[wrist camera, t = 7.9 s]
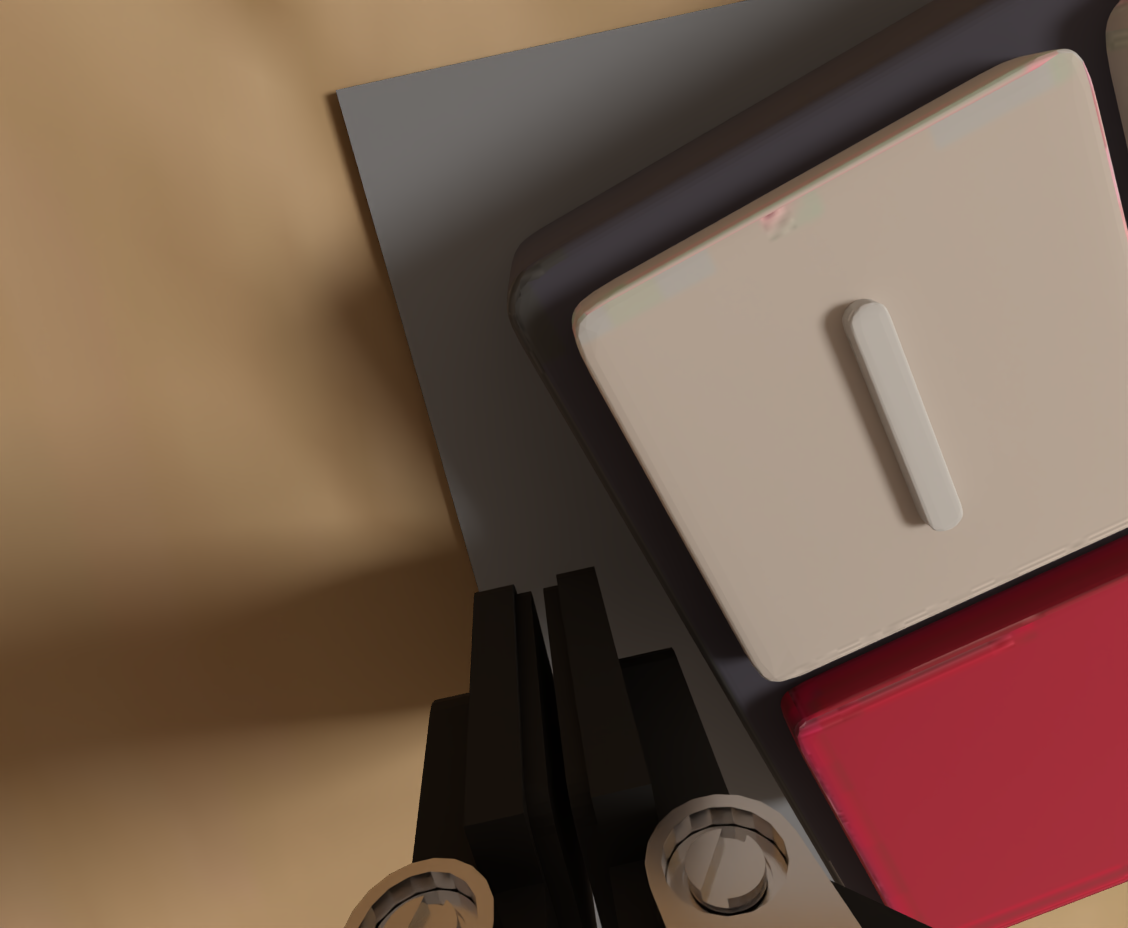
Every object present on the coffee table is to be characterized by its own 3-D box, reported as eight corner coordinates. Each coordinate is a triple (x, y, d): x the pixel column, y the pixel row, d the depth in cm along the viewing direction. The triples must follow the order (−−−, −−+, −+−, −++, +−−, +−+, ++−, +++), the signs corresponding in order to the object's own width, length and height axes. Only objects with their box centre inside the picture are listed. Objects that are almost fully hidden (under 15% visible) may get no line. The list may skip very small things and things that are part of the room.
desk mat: (338, 91, 9) (335, 89, 9) (1540, -172, 9) (1555, -177, 9) (588, 970, 15) (589, 978, 15) (1318, 801, 15) (1326, 808, 15)
